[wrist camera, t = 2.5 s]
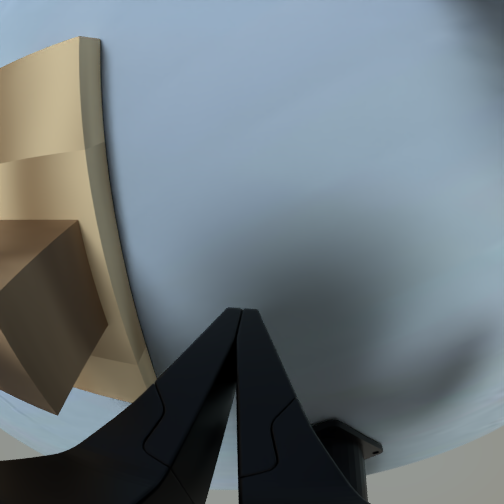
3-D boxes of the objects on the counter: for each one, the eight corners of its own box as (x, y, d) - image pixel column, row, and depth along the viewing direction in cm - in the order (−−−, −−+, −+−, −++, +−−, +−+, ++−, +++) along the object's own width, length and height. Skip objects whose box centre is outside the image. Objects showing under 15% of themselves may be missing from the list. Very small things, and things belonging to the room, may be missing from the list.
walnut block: (78, 219, 9) (-13, 303, 5) (108, 325, 11) (58, 415, 7) (-2, 219, 9) (-78, 281, 5) (31, 309, 12) (-22, 377, 8)
